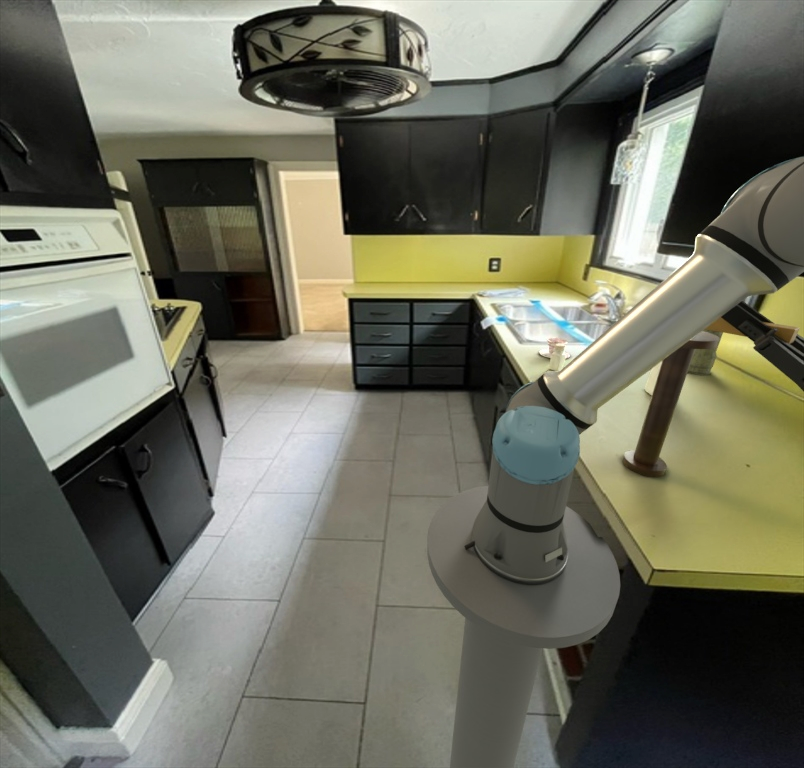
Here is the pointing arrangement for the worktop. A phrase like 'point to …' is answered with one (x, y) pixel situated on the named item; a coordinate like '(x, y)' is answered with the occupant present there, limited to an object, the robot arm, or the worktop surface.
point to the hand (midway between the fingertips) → (730, 308)
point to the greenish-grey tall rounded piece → (704, 357)
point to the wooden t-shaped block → (783, 331)
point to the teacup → (553, 347)
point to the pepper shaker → (557, 358)
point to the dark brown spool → (664, 407)
